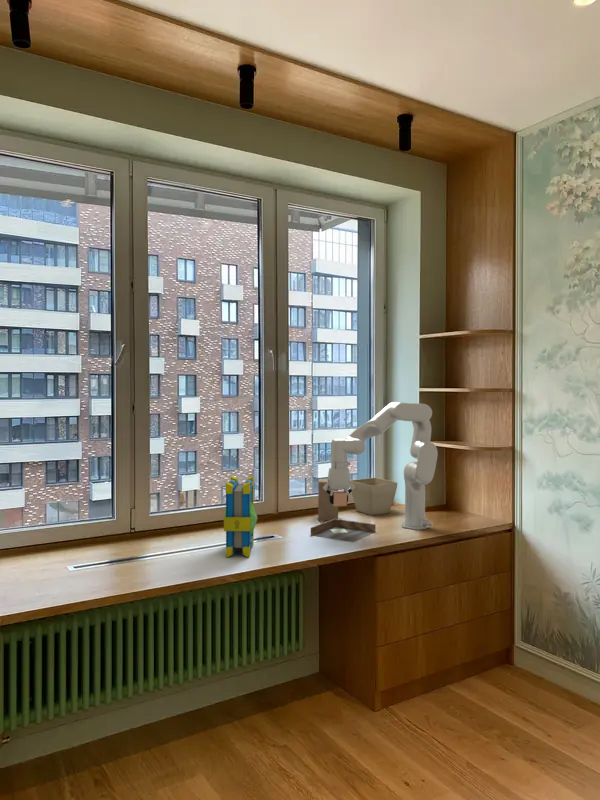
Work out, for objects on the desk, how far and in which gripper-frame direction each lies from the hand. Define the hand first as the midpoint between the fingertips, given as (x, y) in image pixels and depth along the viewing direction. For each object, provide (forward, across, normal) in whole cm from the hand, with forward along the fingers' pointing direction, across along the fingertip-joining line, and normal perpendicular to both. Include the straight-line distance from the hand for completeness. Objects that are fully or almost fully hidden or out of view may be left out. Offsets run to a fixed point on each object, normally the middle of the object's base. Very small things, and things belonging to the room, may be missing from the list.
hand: (338, 503), depth 287 cm
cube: (+1, 0, 0) cm, 1 cm away
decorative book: (+14, +49, +22) cm, 55 cm away
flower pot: (+14, -31, -39) cm, 51 cm away
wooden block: (+14, -2, -28) cm, 31 cm away
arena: (+14, -1, +5) cm, 14 cm away
